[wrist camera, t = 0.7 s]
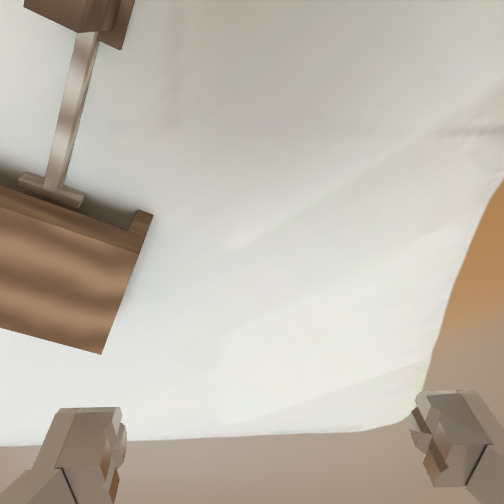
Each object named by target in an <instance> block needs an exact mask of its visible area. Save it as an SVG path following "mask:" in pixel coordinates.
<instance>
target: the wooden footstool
mask: <svg viewBox="0 0 504 504" xmlns="http://www.w3.org/2000/svg"><path fill="white" fill-rule="evenodd" d="M152 217H153V215H152V214H149V213H146V212H144V211H141V210H138V211H137V213H136V216H135V218H134V220H133V222H132V224H131V227H130V229H129V231H127V230H124V229H122V228H119V227H116V226H113V225H111V224H108V223H105V222H102V221H99V220H97V219H94V218H91V217H88V216H85V215H83V214H80V213H77V212H74V211H71V210H69V209H66V208H63V207H60V206H57V205H55V204H52V203H49V202H46V201H43V200H41V199H38V198H35V197H32V196H29V195H27V194H24V193H21V192H18V191H16V190H13V189H10V188H7V187H4V186H2V185H0V328H4V329H7V330H11V331H15V332H18V333H22V334H26V335H30V336H33V337H37V338H41V339H45V340H48V341H52V342H56V343H59V344H63V345H67V346H71V347H74V348H78V349H82V350H85V351H89V352H93V353H97V354H100V355H101V354H102V351H103V348H104V346H105V343H106V340H107V338H108V335H109V332H110V330H111V327H112V324H113V322H114V319H115V317H116V314H117V311H118V309H119V306H120V303H121V301H122V298H123V295H124V293H125V290H126V287H127V285H128V282H129V280H130V277H131V274H132V272H133V269H134V266H135V264H136V261H137V258H138V256H139V253H140V250H141V248H142V245H143V242H144V239H145V237H146V234H147V231H148V228H149V226H150V223H151V220H152Z"/></svg>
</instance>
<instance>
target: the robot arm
mask: <svg viewBox="0 0 504 504" xmlns="http://www.w3.org/2000/svg"><path fill="white" fill-rule="evenodd" d="M415 402H416V404H417V406H418V407H416V408H415V409H414V410H413V411H411V415H410V418H409V426H410V432H411V436H412V439H413V441H414V444H415V446H416V447H417V448H418V449H419V450H420V451H422V452H423V453H424V454H425V456H424V460H423V464H424V466H425V468H426V471H427V473H428V475H429V477H430V479H431V482H432V484H433V486H434V487H458V486H459V487H461V486H466V489H467V490H468V491H469V492H470V493H471V494H472V495H473V496H474V497H475V498H476V499H477V500H478V501H479V502H480V503H481V504H504V429H503V428H502V426H501V425H500V424H499V422H498V421H497V419H496V418H495V416H494V415H493V413H492V412H491V411H490V409H489V407H488V406H487V405H486V403H485V402H484V400H483V399H482V397H481V396H480V394H479V393H478V392H477V391H475V390H457V391H454V390H446V391H430V392H420V393H419V394H417V396H416V399H415ZM121 418H122V412H121V409H120V407H93V408H61V409H60V410H59V411H58V412H57V413H56V414H55V416H54V419H53V421H52V423H51V426H50V428H49V430H48V433H47V435H46V437H45V440H44V442H43V444H42V447H41V449H40V451H39V454H38V456H37V459H36V461H35V463H34V466H33V468H32V470H25V471H24V472H23V473H22V474H21V475H20V476H19V477H18V478H17V479H16V480H15V481H14V482H12V483H11V484H10V485H9V486H8V487H7V488H6V489H5V490H4V491H3V492H2V493H1V494H0V504H114V502H115V498H116V493H117V489H118V485H119V480H120V479H119V475H118V472H117V469H118V468H119V467H120V466H121V465H122V464H123V462H124V458H125V453H126V445H127V433H126V428H125V425H123V424H122V423H121Z"/></svg>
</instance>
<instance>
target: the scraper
mask: <svg viewBox="0 0 504 504" xmlns="http://www.w3.org/2000/svg"><path fill="white" fill-rule="evenodd" d="M134 1H135V0H24V7H25V8H27V9H29V10H31V11H33V12H35V13H37V14H39V15H41V16H44V17H46V18H48V19H50V20H52V21H54V22H56V23H58V24H60V25H62V26H65V27H67V28H69V29H71V30H73V31H75V32H77V36H76V41H75V45H74V50H73V54H72V59H71V63H70V68H69V72H68V77H67V81H66V86H65V90H64V95H63V99H62V104H61V108H60V113H59V117H58V122H57V126H56V131H55V135H54V140H53V144H52V149H51V153H50V158H49V162H48V167H47V171H46V176H45V178H43V177H40V176H37V175H35V174H32V173H29V172H26V173H25V174H24V175H22V176H21V177H20V178H18V181H17V187H19V188H22V189H25V190H28V191H30V192H33V193H36V194H39V195H41V196H44V197H47V198H50V199H53V200H55V201H58V202H61V203H64V204H66V205H69V206H72V207H75V208H77V209H78V208H79V207H80V205H81V204H82V203H83V202H84V200H85V196H86V193H83V192H80V191H78V190H75V189H72V188H70V187H67V186H64V182H65V178H66V174H67V169H68V165H69V161H70V157H71V153H72V149H73V145H74V141H75V137H76V133H77V129H78V125H79V121H80V117H81V113H82V109H83V105H84V101H85V97H86V93H87V89H88V85H89V81H90V77H91V73H92V69H93V65H94V61H95V57H96V53H97V49H98V45H99V41H101V42H104V43H106V44H108V45H110V46H112V47H114V48H116V49H118V50H121V49H122V45H123V41H124V38H125V34H126V31H127V27H128V23H129V20H130V16H131V12H132V9H133V5H134Z"/></svg>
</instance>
